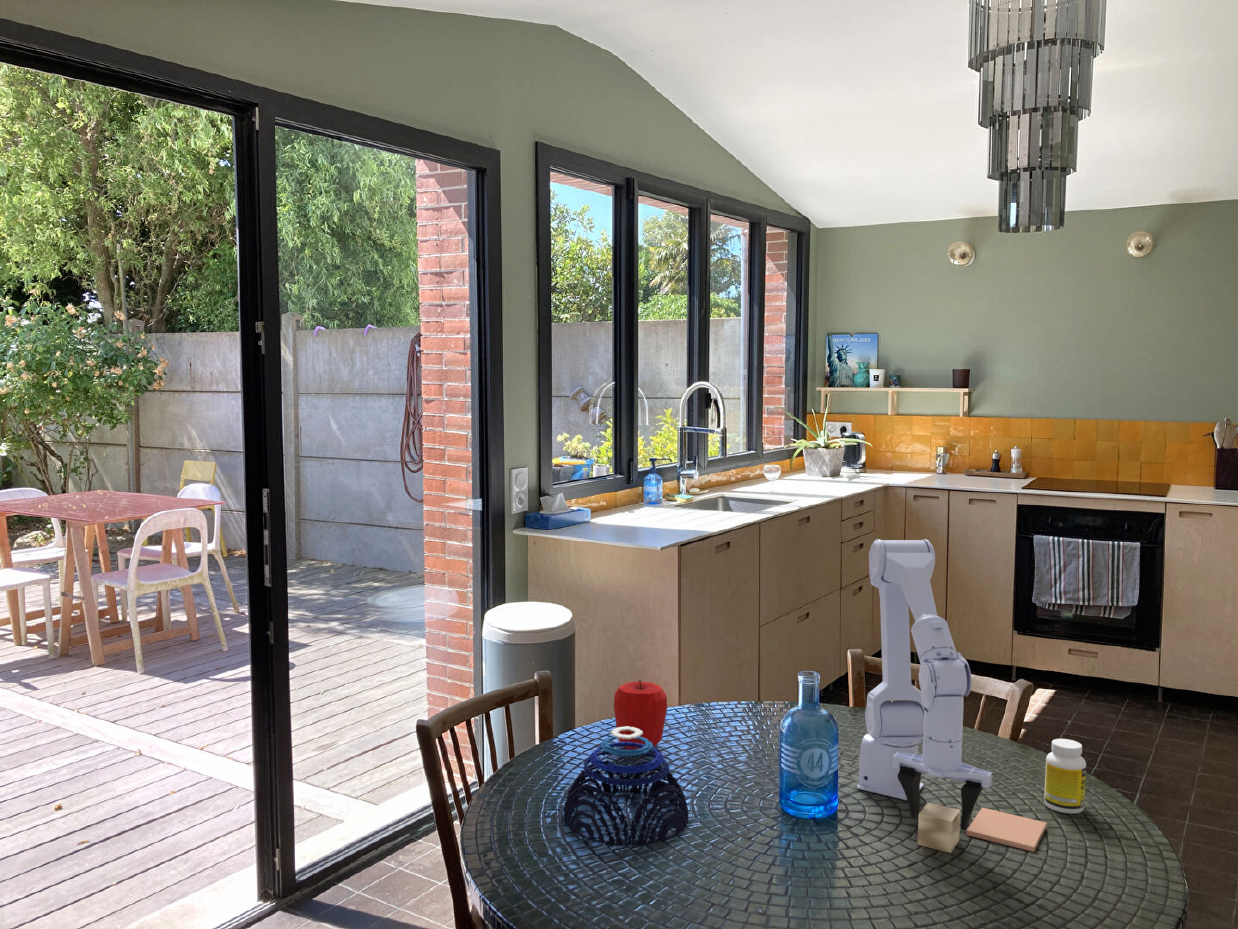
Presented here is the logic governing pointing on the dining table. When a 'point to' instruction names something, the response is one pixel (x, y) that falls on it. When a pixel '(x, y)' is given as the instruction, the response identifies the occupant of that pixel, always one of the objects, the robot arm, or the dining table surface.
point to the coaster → (1007, 829)
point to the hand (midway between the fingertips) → (939, 821)
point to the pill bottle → (1065, 777)
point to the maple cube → (938, 827)
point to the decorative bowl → (657, 788)
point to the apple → (641, 711)
